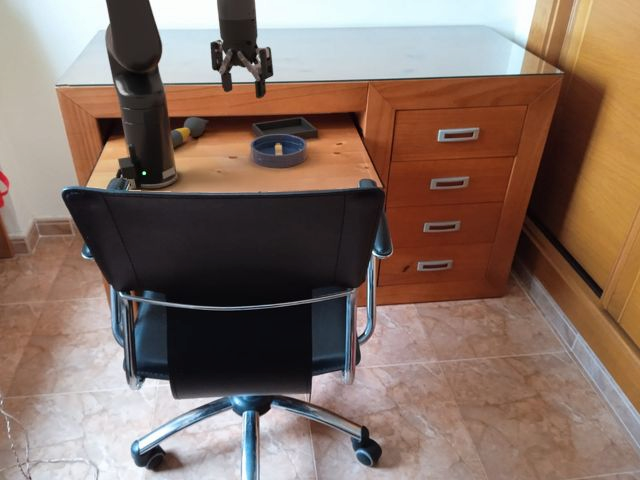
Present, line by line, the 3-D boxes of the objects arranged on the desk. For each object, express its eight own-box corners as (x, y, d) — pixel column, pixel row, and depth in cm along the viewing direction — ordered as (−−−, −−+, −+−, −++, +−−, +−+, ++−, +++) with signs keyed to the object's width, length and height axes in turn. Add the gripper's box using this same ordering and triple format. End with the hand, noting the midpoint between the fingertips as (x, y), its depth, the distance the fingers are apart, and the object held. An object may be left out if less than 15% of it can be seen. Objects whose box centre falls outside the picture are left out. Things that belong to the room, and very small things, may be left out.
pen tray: (265, 147, 134) (265, 137, 132) (252, 132, 141) (251, 123, 140) (317, 138, 139) (317, 129, 137) (302, 125, 147) (302, 116, 145)
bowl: (262, 173, 121) (261, 159, 119) (243, 152, 131) (242, 138, 129) (315, 164, 126) (315, 150, 124) (293, 144, 136) (293, 130, 134)
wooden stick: (282, 164, 124) (282, 158, 123) (275, 165, 124) (275, 158, 123) (281, 147, 132) (281, 141, 131) (275, 147, 132) (274, 141, 131)
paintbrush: (165, 159, 126) (162, 139, 123) (148, 155, 128) (144, 135, 125) (213, 132, 141) (211, 113, 139) (197, 128, 143) (196, 110, 140)
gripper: (197, 14, 107) (207, 94, 116) (255, 21, 102) (261, 104, 111) (220, 7, 113) (228, 84, 122) (277, 14, 107) (281, 94, 116)
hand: (244, 94), depth 116 cm, fingers open, 8 cm apart
